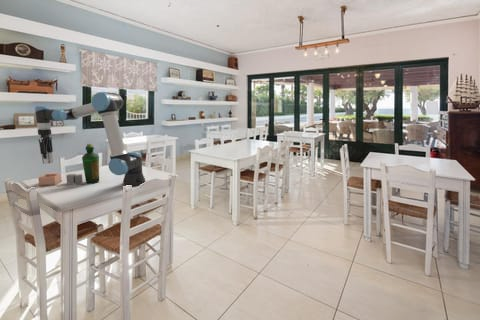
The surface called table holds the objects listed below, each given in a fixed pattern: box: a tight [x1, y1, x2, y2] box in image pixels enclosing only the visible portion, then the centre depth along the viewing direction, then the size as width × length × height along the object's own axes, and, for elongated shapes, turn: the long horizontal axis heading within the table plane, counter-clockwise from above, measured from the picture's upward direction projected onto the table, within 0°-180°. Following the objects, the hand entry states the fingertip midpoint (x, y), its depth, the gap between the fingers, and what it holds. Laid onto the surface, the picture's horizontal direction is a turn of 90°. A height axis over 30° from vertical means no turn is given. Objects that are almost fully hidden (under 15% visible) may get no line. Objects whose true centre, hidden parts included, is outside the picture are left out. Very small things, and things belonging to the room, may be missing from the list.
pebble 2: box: [74, 173, 84, 185], centre depth 195 cm, size 4×4×6 cm
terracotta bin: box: [37, 173, 63, 187], centre depth 192 cm, size 10×10×6 cm
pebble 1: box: [41, 152, 54, 164], centre depth 189 cm, size 4×4×7 cm
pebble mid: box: [65, 173, 76, 185], centre depth 194 cm, size 4×4×6 cm
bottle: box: [81, 143, 100, 185], centre depth 196 cm, size 11×11×28 cm
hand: (48, 162), depth 190 cm, fingers closed on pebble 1, 4 cm apart
